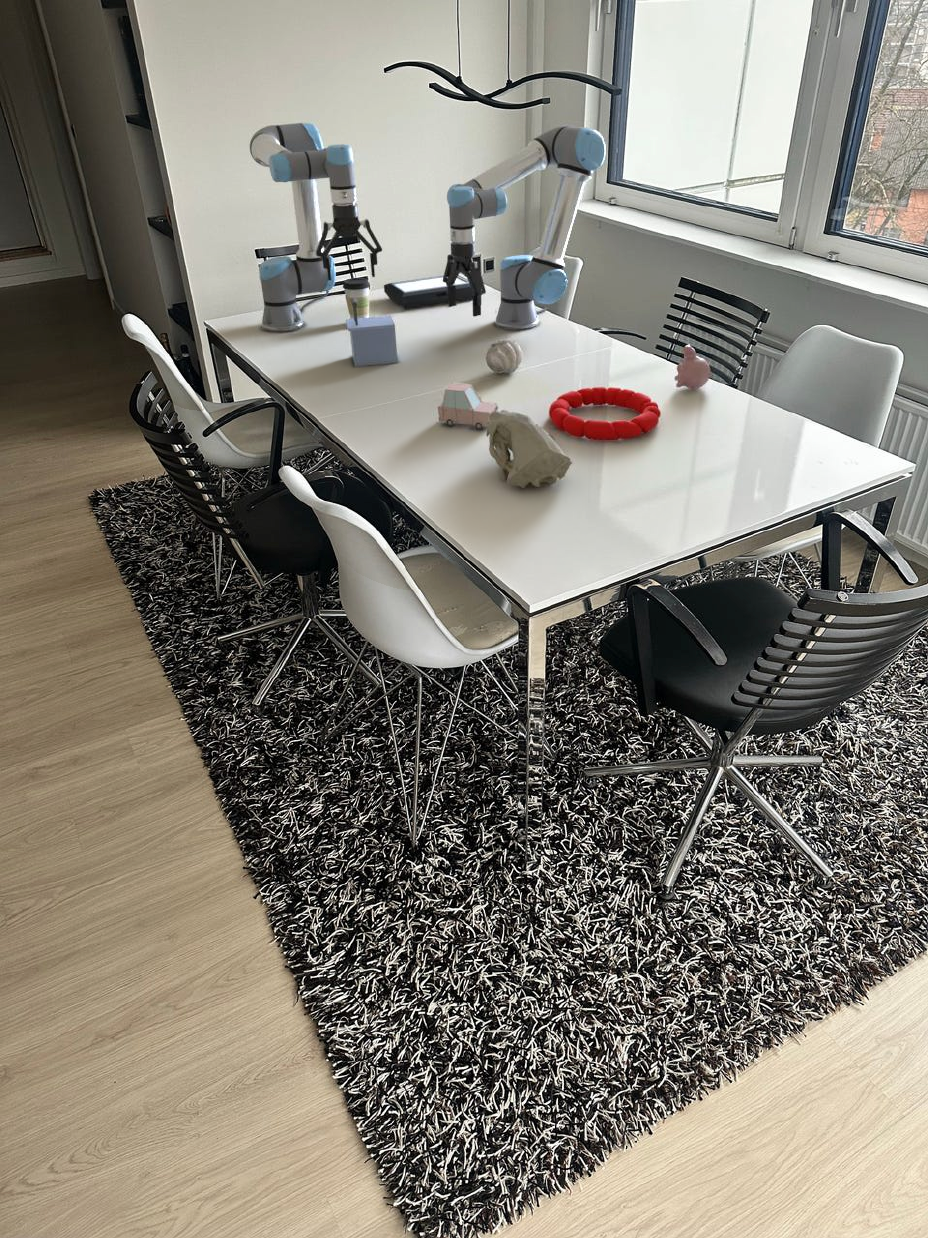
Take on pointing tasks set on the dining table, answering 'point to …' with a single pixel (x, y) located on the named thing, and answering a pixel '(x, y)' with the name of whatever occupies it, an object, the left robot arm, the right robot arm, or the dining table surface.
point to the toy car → (465, 406)
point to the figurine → (692, 370)
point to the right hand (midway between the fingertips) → (464, 310)
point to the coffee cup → (357, 296)
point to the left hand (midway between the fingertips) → (351, 277)
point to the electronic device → (426, 292)
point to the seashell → (504, 356)
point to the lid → (368, 321)
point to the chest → (374, 346)
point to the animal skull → (525, 450)
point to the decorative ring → (604, 428)
